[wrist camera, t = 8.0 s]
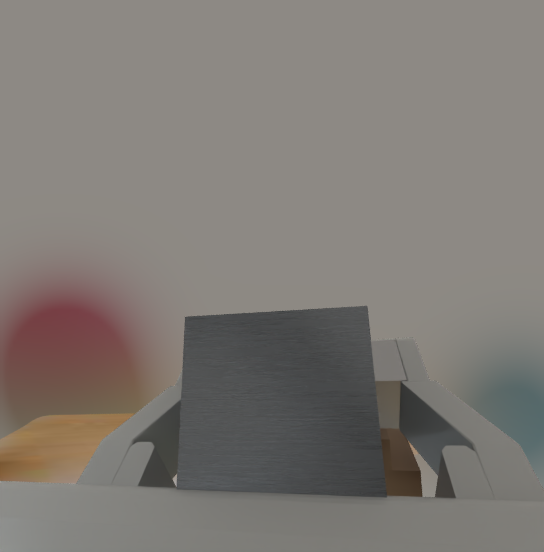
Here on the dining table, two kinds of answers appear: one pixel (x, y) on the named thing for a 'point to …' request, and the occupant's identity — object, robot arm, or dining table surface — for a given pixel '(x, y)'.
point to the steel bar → (280, 404)
